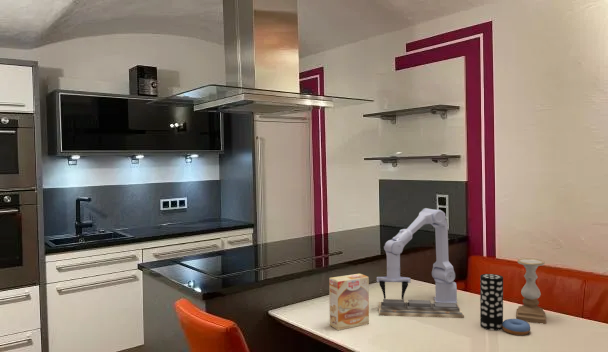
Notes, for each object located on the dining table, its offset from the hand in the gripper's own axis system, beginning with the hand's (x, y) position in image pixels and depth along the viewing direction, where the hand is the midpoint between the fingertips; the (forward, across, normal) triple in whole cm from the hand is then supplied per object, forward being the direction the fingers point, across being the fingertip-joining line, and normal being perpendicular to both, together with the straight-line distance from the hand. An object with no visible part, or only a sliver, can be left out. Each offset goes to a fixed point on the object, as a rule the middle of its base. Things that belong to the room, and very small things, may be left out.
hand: (393, 298), depth 211 cm
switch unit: (+5, +11, 0) cm, 12 cm away
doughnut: (+6, +45, -21) cm, 50 cm away
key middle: (+3, +11, 0) cm, 11 cm away
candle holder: (+5, +56, -5) cm, 56 cm away
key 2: (+4, +22, 0) cm, 22 cm away
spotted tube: (+5, +37, -17) cm, 41 cm away
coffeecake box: (+6, -18, -20) cm, 28 cm away
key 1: (+3, 0, 0) cm, 3 cm away
